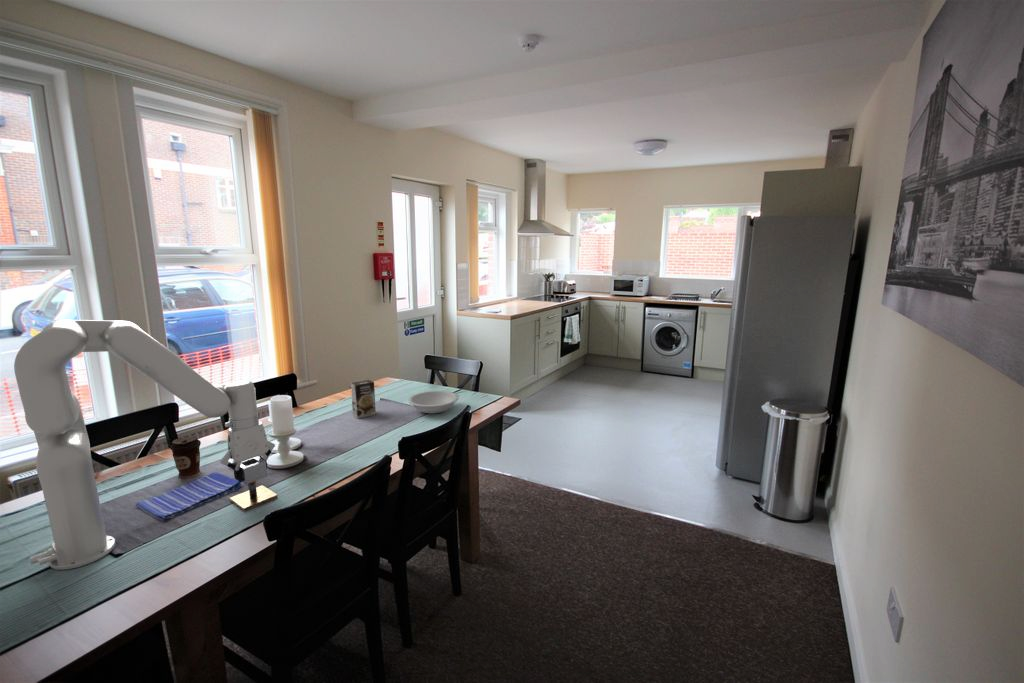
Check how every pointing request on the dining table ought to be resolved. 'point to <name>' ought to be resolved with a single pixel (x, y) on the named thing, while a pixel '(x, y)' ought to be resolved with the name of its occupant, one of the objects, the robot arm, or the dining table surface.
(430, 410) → the soup bowl
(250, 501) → the post
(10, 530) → the dining table surface
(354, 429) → the dining table surface
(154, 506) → the dish towel
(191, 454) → the coffee cup
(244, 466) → the white box block
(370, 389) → the coffee box
